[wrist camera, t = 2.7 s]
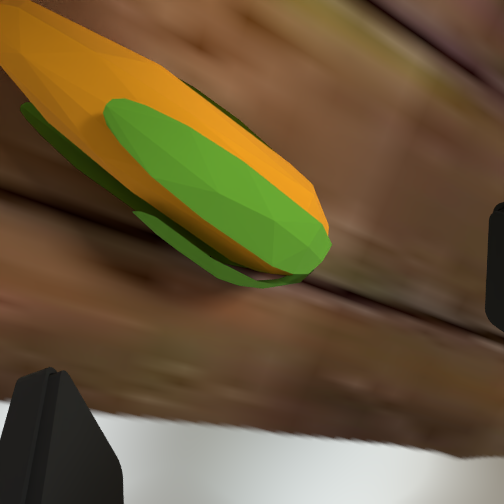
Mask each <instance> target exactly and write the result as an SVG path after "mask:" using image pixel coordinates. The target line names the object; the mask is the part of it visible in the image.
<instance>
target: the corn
mask: <svg viewBox="0 0 504 504" xmlns="http://www.w3.org/2000/svg"><path fill="white" fill-rule="evenodd" d="M0 66H1V67H2V68H3V69H4V71H5V72H6V73H7V74H8V75H9V77H10V78H11V79H12V80H13V81H14V82H15V84H16V85H17V86H18V87H19V88H20V90H21V91H22V92H23V93H24V94H25V96H26V97H27V98H28V99H29V100H30V101H31V103H30V102H25V103H24V104H22V105H21V107H20V111H21V112H22V114H23V115H24V117H25V118H26V120H27V121H28V122H29V123H30V124H31V125H32V126H33V127H34V128H35V129H36V130H37V131H38V133H39V134H40V135H41V136H42V137H43V138H44V139H45V140H47V141H48V142H49V143H50V144H51V145H52V146H53V147H54V148H55V149H56V150H57V151H58V152H59V153H61V154H62V155H63V156H64V157H65V158H66V159H67V160H68V161H69V162H70V163H71V164H72V165H73V166H74V167H76V168H77V169H78V170H80V171H81V172H82V173H84V174H85V175H87V176H88V177H89V178H91V179H92V180H94V181H95V182H96V183H98V184H99V185H101V186H102V187H103V188H105V189H106V190H108V191H109V192H110V193H112V194H113V195H115V196H116V197H117V198H119V199H120V200H121V201H123V202H124V203H126V204H127V205H128V206H130V207H131V208H133V209H134V210H136V211H133V213H134V214H135V215H136V216H137V217H138V218H139V219H140V220H141V221H142V222H144V223H145V224H146V225H147V226H148V227H149V228H150V229H151V230H152V231H153V232H154V233H156V234H157V235H158V236H159V237H161V238H162V239H163V240H165V241H166V242H167V243H169V244H170V245H171V246H172V247H174V248H175V249H176V250H178V251H179V252H181V253H182V254H183V255H185V256H186V257H188V258H189V259H191V260H192V261H193V262H195V263H196V264H198V265H199V266H201V267H202V268H203V269H205V270H206V271H208V272H209V273H211V274H212V275H213V276H215V277H216V278H218V279H221V280H224V281H227V282H230V283H233V284H235V285H238V286H246V287H255V288H269V287H275V286H281V285H288V284H294V283H300V282H301V281H302V280H303V279H304V278H305V277H307V276H308V275H309V274H310V273H311V272H312V271H314V268H316V267H317V266H318V265H319V264H320V263H321V262H322V261H323V259H324V258H325V256H326V254H327V252H328V251H329V249H330V247H331V246H332V244H331V242H330V239H329V237H328V229H329V225H328V223H327V220H326V218H325V215H324V213H323V210H322V207H321V205H320V202H319V200H318V197H317V195H316V192H315V190H314V187H313V185H312V184H311V183H310V182H309V181H308V180H307V179H306V178H305V177H304V176H303V175H302V174H301V173H300V172H298V171H297V170H296V169H295V168H294V167H293V166H292V165H291V164H290V163H289V162H287V161H286V160H285V159H283V158H282V157H281V156H279V155H278V154H277V153H276V152H275V151H274V150H272V149H271V148H270V147H269V146H268V145H267V144H266V143H265V142H263V141H262V140H261V139H260V138H259V137H258V136H257V135H256V134H255V133H253V132H252V131H251V130H250V129H249V128H248V127H247V126H246V125H244V124H243V123H242V122H241V121H240V120H239V119H237V118H236V117H235V116H233V115H232V114H230V113H229V112H228V111H226V110H225V109H224V108H222V107H221V106H219V105H218V104H217V103H215V102H214V101H212V100H211V99H210V98H208V97H207V96H206V95H204V94H203V93H201V92H200V91H199V90H197V89H196V88H194V87H193V86H191V85H189V84H187V83H186V82H184V81H182V80H180V79H179V78H177V77H175V76H174V75H173V74H171V73H170V72H169V71H167V70H166V69H165V68H164V67H162V66H161V65H159V64H157V63H155V62H153V61H151V60H149V59H147V58H145V57H143V56H141V55H139V54H137V53H135V52H133V51H131V50H129V49H127V48H125V47H123V46H121V45H119V44H117V43H115V42H113V41H111V40H109V39H107V38H105V37H103V36H101V35H99V34H97V33H95V32H93V31H91V30H89V29H87V28H85V27H83V26H81V25H79V24H77V23H74V22H72V21H70V20H68V19H66V18H64V17H62V16H60V15H58V14H56V13H54V12H52V11H50V10H48V9H46V8H44V7H42V6H40V5H38V4H36V3H34V2H32V1H30V0H0ZM201 250H202V251H201ZM204 252H205V253H207V254H208V255H210V256H212V257H213V258H215V259H217V260H218V261H220V262H222V263H223V264H222V263H220V262H218V261H216V260H214V259H212V258H211V257H210V256H208V255H207V254H205V253H204ZM224 264H229V265H234V266H240V267H245V268H250V269H253V270H256V271H259V272H265V273H271V274H280V275H288V276H285V277H283V278H280V279H274V280H259V281H256V280H254V279H252V278H250V277H248V276H246V275H244V274H242V273H240V272H238V271H236V270H234V269H232V268H230V267H228V266H226V265H224Z"/></svg>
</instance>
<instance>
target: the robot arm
mask: <svg viewBox="0 0 504 504" xmlns="http://www.w3.org/2000/svg"><path fill="white" fill-rule="evenodd" d="M485 312H486V315H487V317H488V319H489V320H490V322H491V323H492V324H493V325H494V326H496V327H497V328H499V329H500V330H501V331H503V332H504V202H502V203H499V204H498V205H497V206H496V207H495V208H494V210H493V213H492V214H491V216H490V218H489V233H488V256H487V278H486V300H485ZM123 499H124V498H123V474H122V469H121V465H120V463H119V460H118V458H117V456H116V455H115V453H114V451H113V449H112V448H111V446H110V444H109V443H108V441H107V439H106V437H105V436H104V434H103V432H102V430H101V429H100V427H99V426H98V424H97V422H96V420H95V419H94V417H93V415H92V413H91V412H90V410H89V408H88V407H87V405H86V403H85V401H84V400H83V398H82V396H81V395H80V393H79V391H78V389H77V388H76V386H75V384H74V383H73V381H72V379H71V378H70V376H69V374H68V373H67V372H66V371H64V370H63V371H60V372H56V370H55V369H53V368H52V367H48V368H46V369H43V370H40V371H37V372H35V373H32V374H29V375H26V376H24V377H21V378H19V379H18V380H17V382H16V385H15V388H14V392H13V396H12V399H11V403H10V406H9V410H8V413H7V417H6V421H5V424H4V428H3V431H2V435H1V438H0V504H124V500H123Z"/></svg>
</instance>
